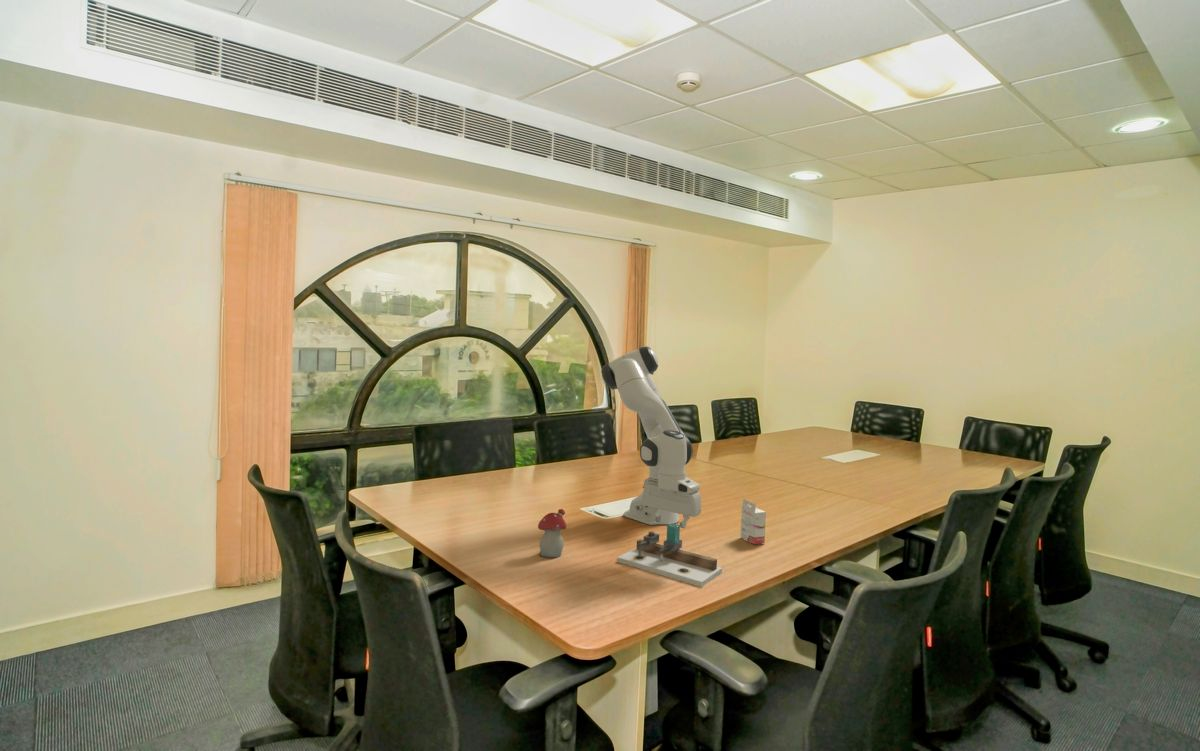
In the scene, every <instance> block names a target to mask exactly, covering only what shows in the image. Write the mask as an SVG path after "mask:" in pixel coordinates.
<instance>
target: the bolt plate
mask: <svg viewBox="0 0 1200 751" xmlns="http://www.w3.org/2000/svg"><path fill="white" fill-rule="evenodd" d="M636 548H637V547H635V548H632V549H631V550H629V551H627V552H625V553H623V554H620V555H618V556H617V557H616V563H620V564H624V565H626V566H631V567H634V568H637V569H640V570H643V571H647V572H651V573H654V574H658V575H660V576H663V577H667V578H671V579H674V580H677V581H681V582H684V583H688V584H691V585H695V586H697V587H701V588H702V587H704V586H706V585H707V584H708V583H710V582H711V581H713V580H714V579H716V576H717V577H718V576H719V575H721V574H722V573H723V567H720V566H717V569H716V570H714V571H713V570H709V569H705V568H702V567H698V566H694V565H691V564H687V563H683V562H680V561H676V560H673V559H669V558H665V557H663V561H660V556H658V555H654V554H651V553H647V552H644V551H641V555H638V554H639V550H636Z"/></svg>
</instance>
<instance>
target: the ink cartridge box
mask: <svg viewBox="0 0 1200 751" xmlns="http://www.w3.org/2000/svg"><path fill="white" fill-rule="evenodd" d="M741 505H742V506H741V516H740V517H741V520H740V522H741V523H740V538H741V539H742V538H743V539H742V540H744V539H745V540H747V541H749V542H751V543H753V544H758V545H763V544H762V543H764V544H765V540H766V539H765V538H766V517H767V511H765V510H762V509H759V508H758V507H757V504H756V503H753V502H752V501H749V500H748V499H745V498H743V499H742V504H741ZM745 540H744V541H745ZM747 541H746V542H747ZM749 542H748V543H749ZM751 543H750V544H751ZM753 544H752V545H753Z"/></svg>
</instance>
